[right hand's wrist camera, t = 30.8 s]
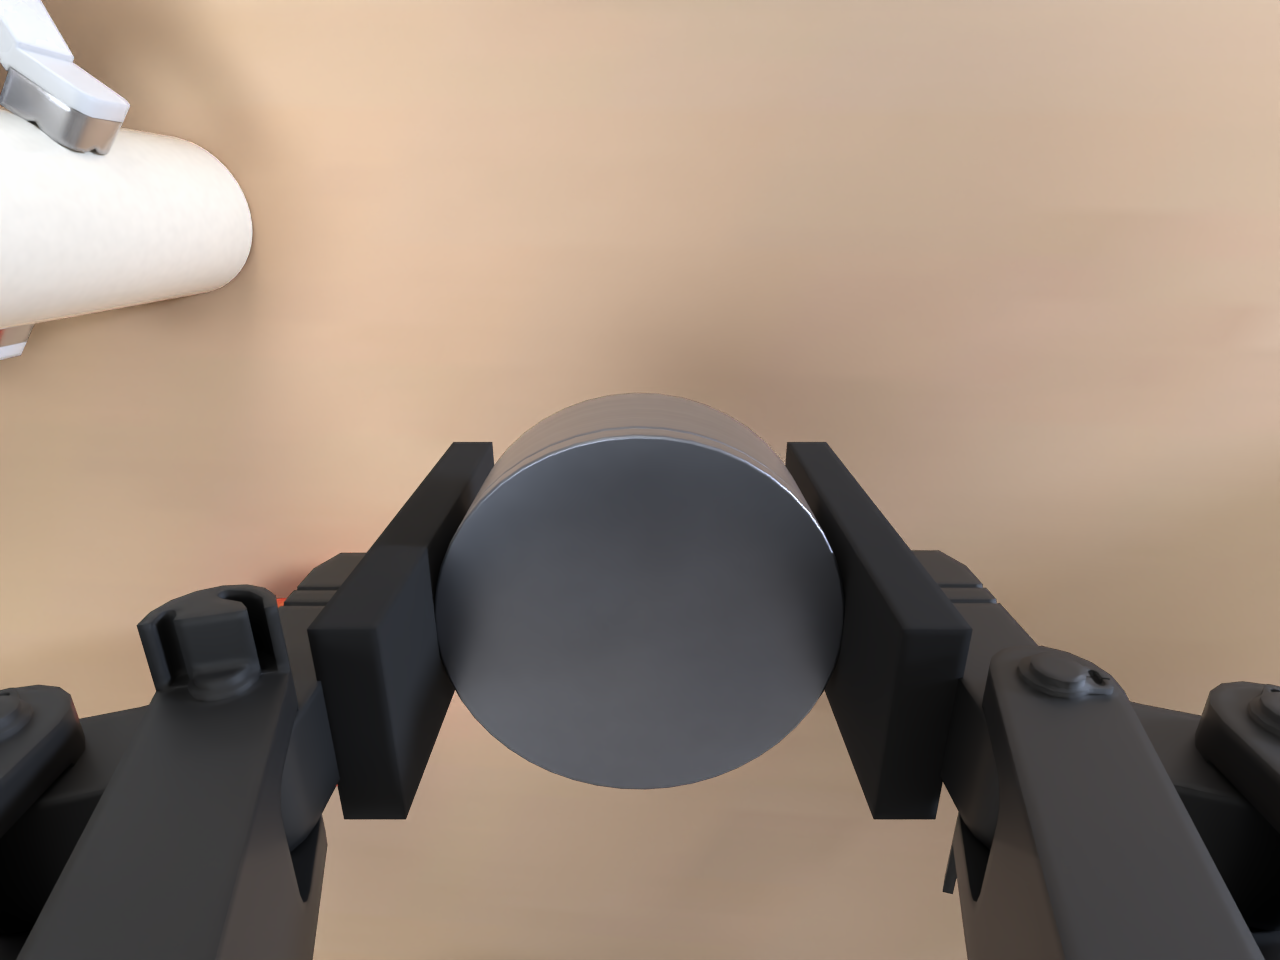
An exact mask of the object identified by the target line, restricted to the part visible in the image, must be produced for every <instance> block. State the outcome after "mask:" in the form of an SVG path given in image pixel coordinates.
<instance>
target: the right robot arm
mask: <svg viewBox="0 0 1280 960" xmlns="http://www.w3.org/2000/svg"><path fill="white" fill-rule="evenodd" d="M493 466H494V458H493V445H492V442H453V443H452V445H451V446H450V447H449V448H448V450H447V451H446V452H445V454H444V455H443V456H442V457H441V459H440V460H439V461H438V462H437V464H436V465H435V466H434V468H433V469H432V470H431V471H430V473H429V474H428V475H427V477H426V478H425V479H424V480H423V482H422V483H421V484H420V485H419V487H418V488H417V489H416V491H415V492H414V493H413V494H412V496H411V497H410V498H409V499H408V501H407V502H406V503H405V505H404V506H403V507H402V508H401V510H400V511H399V512H398V514H397V515H396V516H395V517H394V519H393V520H392V521H391V522H390V524H389V525H388V526H387V528H386V529H385V530H384V531H383V533H382V534H381V535H380V537H379V538H378V539H377V540H376V542H375V543H374V544H373V545H372V547H371V548H370V549H369V551H368V552H367V553H340V554H338V555H336V556H335V557H333V558H331V559H329V560H328V561H326V562H324V563H322V564H321V565H319V566H317V567H315V568H314V569H313V570H312V571H311V572H310V573H309V574H308V575H307V577H306V578H305V579H304V580H303V581H302V582H301V583H300V584H299V586H298V587H297V590H294V591H293V592H292V593H291V594H290V596H289V597H288V598H287V599H286V600H285V601H284V605H283V606H280V607H279V608H278V605H277V600H276V595H274V594H273V593H272V592H270V591H269V590H267V589H266V588H263V587H257V586H252V585H226V586H219V587H214V588H209V589H204V590H199V591H196V592H193V593H190V594H187V595H184V596H182V597H179V598H176V599H173V600H171V601H169V602H167V603H166V604H164V605H162V606H160V607H158V608H157V609H155V610H153V611H151V612H150V613H149V614H148V615H147V616H146V617H145V618H144V619H143V620H142V621H141V622H140V623H139V624H138V625H137V628H138V631H139V635H140V638H141V641H142V645H143V648H144V651H145V655H146V658H147V662H148V665H149V668H150V672H151V675H152V678H153V682H154V685H155V688H156V693H155V695H154V697H153V699H152V701H151V702H150V704H149V705H147V706H143V707H139V708H133V709H128V710H123V711H118V712H113V713H108V714H102V715H97V716H92V717H87V718H82V719H79V718H78V715H77V712H76V709H75V706H74V704H73V701H72V698H71V695H70V694H69V693H67V692H66V691H64V690H63V689H61V688H60V687H54V686H45V685H33V686H26V687H19V688H8V689H4V690H0V960H313V952H314V944H315V937H316V929H317V921H318V913H319V906H320V898H321V890H322V883H323V875H324V867H325V859H326V852H327V839H326V832H325V827H324V822H323V817H322V812H323V810H324V808H325V806H326V805H327V803H328V801H329V799H330V797H331V795H332V793H333V791H334V789H335V787H336V785H338V790H339V795H340V800H341V805H342V811H343V816H344V819H406V817H407V815H408V812H409V810H410V807H411V804H412V802H413V799H414V796H415V794H416V791H417V789H418V786H419V783H420V781H421V778H422V775H423V773H424V770H425V767H426V765H427V762H428V760H429V757H430V754H431V752H432V749H433V746H434V744H435V741H436V739H437V736H438V733H439V731H440V728H441V725H442V723H443V720H444V718H445V715H446V712H447V710H448V707H449V704H450V702H451V699H452V696H453V694H454V691H455V688H454V686H453V685H452V683H451V681H450V679H449V677H448V674H447V672H446V669H445V666H444V664H443V661H442V659H441V655H440V651H439V646H438V638H437V630H436V621H435V612H434V605H435V591H436V585H437V581H438V576H439V572H440V568H441V564H442V562H443V559H444V557H445V554H446V552H447V549H448V547H449V544H450V542H451V540H452V538H453V536H454V535H455V533H456V531H457V529H458V528H459V526H460V524H461V522H462V520H463V519H464V517H465V515H466V513H467V512H468V510H469V508H470V506H471V504H472V503H473V501H474V499H475V497H476V496H477V494H478V492H479V490H480V488H481V487H482V485H483V483H484V481H485V480H486V478H487V476H488V475H489V473H490V471H491V470H492V468H493ZM785 466H786V468H787V469H788V471H789V472H790V474H791V475H792V477H793V479H794V480H795V482H796V484H797V486H798V488H799V489H800V491H801V493H802V495H803V496H804V498H805V500H806V502H807V504H808V505H809V507H810V509H811V511H812V513H813V514H814V516H815V518H816V520H817V521H818V523H819V525H820V527H821V529H822V530H823V532H824V534H825V536H826V538H827V540H828V542H829V545H830V547H831V549H832V551H833V553H834V555H835V558H836V561H837V565H838V568H839V571H840V575H841V578H842V585H843V592H844V599H845V615H844V626H843V634H842V642H841V649H840V652H839V655H838V658H837V661H836V664H835V668H834V671H833V673H832V675H831V677H830V679H829V681H828V683H827V685H826V687H825V689H824V690H825V692H826V695H827V698H828V700H829V703H830V706H831V708H832V711H833V713H834V716H835V719H836V721H837V724H838V727H839V729H840V732H841V734H842V737H843V740H844V742H845V745H846V748H847V750H848V753H849V756H850V758H851V761H852V763H853V766H854V769H855V771H856V774H857V777H858V779H859V782H860V784H861V787H862V790H863V792H864V795H865V798H866V800H867V803H868V806H869V808H870V811H871V813H872V816H873V819H935V818H936V813H937V808H938V803H939V798H940V793H941V788H942V783H944V785H945V786H946V788H947V790H948V792H949V794H950V796H951V798H952V800H953V802H954V804H955V805H956V807H957V809H958V811H959V812H958V817H957V822H956V827H955V831H954V836H953V841H952V846H951V850H950V855H949V860H948V864H947V869H946V874H945V880H944V886H943V892H946V893H950V894H953V890H954V886H955V881H956V879H957V881H958V889H959V896H960V904H961V912H962V919H963V927H964V935H965V942H966V950H967V958H968V960H1280V687H1279V686H1275V685H1270V684H1258V683H1250V682H1243V681H1241V682H1232V683H1222V684H1220V685H1219V686H1217V687H1216V688H1214V689H1213V690H1211V691H1210V693H1209V696H1208V699H1207V702H1206V705H1205V707H1204V710H1203V713H1202V716H1200V715H1195V714H1189V713H1184V712H1179V711H1174V710H1169V709H1164V708H1158V707H1153V706H1148V705H1143V704H1138V703H1134V702H1130V701H1129V699H1128V697H1127V695H1126V693H1125V692H1124V690H1123V689H1122V688H1121V686H1120V685H1119V684H1118V683H1117V682H1116V680H1115V679H1114V678H1113V677H1112V676H1111V675H1110V674H1108V673H1107V672H1105V671H1104V670H1102V669H1101V668H1099V667H1098V666H1096V665H1095V664H1093V663H1092V662H1090V661H1087V660H1085V659H1082V658H1080V657H1078V656H1075V655H1073V654H1071V653H1068V652H1065V651H1061V650H1056V649H1052V648H1048V647H1044V646H1038V645H1037V644H1036V643H1035V642H1034V641H1033V639H1032V638H1031V637H1030V636H1029V635H1028V634H1027V633H1026V632H1025V631H1024V630H1023V628H1022V627H1021V626H1020V625H1019V624H1018V623H1017V622H1016V621H1015V620H1014V618H1013V617H1012V616H1011V615H1010V614H1009V613H1008V612H1007V611H1006V610H1005V608H1004V607H1003V606H1002V605H1001V604H1000V603H996V598H995V597H994V596H993V595H992V594H991V593H990V592H989V591H988V590H987V589H986V588H983V584H982V583H981V582H980V581H979V580H978V579H977V577H976V576H975V575H974V574H973V573H972V572H971V571H970V570H969V569H968V567H967V566H965V565H964V564H962V563H960V562H958V561H957V560H955V559H953V558H951V557H950V556H948V555H946V554H944V553H943V552H941V551H939V550H910V549H909V547H908V546H907V545H906V544H905V542H904V541H903V540H902V538H901V537H900V536H899V535H898V533H897V532H896V531H895V529H894V528H893V527H892V526H891V524H890V523H889V522H888V521H887V519H886V518H885V517H884V515H883V514H882V513H881V512H880V510H879V509H878V508H877V506H876V505H875V504H874V503H873V501H872V500H871V499H870V498H869V496H868V495H867V494H866V492H865V491H864V490H863V489H862V487H861V486H860V485H859V484H858V482H857V481H856V480H855V478H854V477H853V476H852V475H851V473H850V472H849V471H848V469H847V468H846V467H845V466H844V464H843V463H842V462H841V461H840V459H839V458H838V457H837V455H836V454H835V453H834V452H833V450H832V449H831V448H830V446H829V445H828V444H827V443H826V442H787V452H786V465H785Z"/></svg>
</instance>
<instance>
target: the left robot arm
mask: <svg viewBox="0 0 1280 960" xmlns="http://www.w3.org/2000/svg"><path fill="white" fill-rule="evenodd" d="M73 60H74V56H73V54H72V53H71V51H70V49H69V48H68V46H67V44H66V42H65V41H64V39H63V37H62V36H61V34H60V32H59V30H58V29H57V27H56V25H55V24H54V22H53V20H52V18H51V17H50V15H49V13H48V12H47V10H46V8H45V6H44V5H43V3H42V1H41V0H0V63H1V64H2V66H3V67H4V68H5V70H6V71H8V74H7V77H6V80H5V83H4V86H3V89H2V92H1V95H0V105H2V106H3V107H5V108H6V109H8V110H9V111H11V112H12V113H13V114H15V115H16V116H19V117H20V118H22V119H24V120H26V121H30V122H36V123H37V125H38V126H39V128H40V130H41V131H42V132H43V133H45V134H46V135H47V136H49V137H50V138H51V139H52V140H54V141H56V142H58V143H60V144H61V145H63V146H66V147H68V148H71V149H73V150H76V151H82V152H89V151H91V150H95V151H96V152H98V153H99V154H108V153H109V152H110V149H111V147H112V145H113V143H114V141H115V139H116V137H117V134H118V132H119V130H120V128H121V126H122V124H123V121H124V119H125V117H126V114H127V112H128V110H129V107H130V104H129V103H128V102H127V100H126V99H124V98H123V97H122V96H120V95H119V94H117V93H116V92H114V91H113V90H112V89H110V88H109V87H107V86H106V85H104V84H103V83H102V82H100V81H99V80H97V79H96V78H95V77H93V76H92V75H90V74H89V73H87V72H86V71H85V70H83V69H82V68H80V67H79V66H77V65H76V64H75V63H73ZM33 326H34V324H30V325H25V326H19V327H13V328H8V329H2V330H0V360H2V359H7V358H11V357H15V356H20V355H21V354H22V351H23V349H24V347H25V345H26V342H27V340H28V338H29V335H30V333H31V331H32V328H33Z"/></svg>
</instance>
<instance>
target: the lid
mask: <svg viewBox="0 0 1280 960" xmlns="http://www.w3.org/2000/svg"><path fill="white" fill-rule="evenodd" d="M434 612H435V621H436V630H437V638H438V646H439V651H440V655H441V659H442V661H443V664H444V666H445V669H446V672H447V674H448V677H449V679H450V681H451V683H452V685H453V686H454V688H455V690H456V692H457V694H458V695H459V697H460V699H461V700H462V702H463V703H464V704H465V706H466V707H467V708H468V710H469V711H470V712H471V714H472V715H473V716H474V718H475V719H476V720H477V721H478V722H479V723H480V724H481V725H482V726H483V727H484V728H485V729H486V730H487V731H488V732H489V733H490V734H491V735H492V736H494V737H495V738H496V739H497V740H499V741H500V742H501V743H502V744H503V745H505V746H506V747H507V748H508V749H510V750H512V751H513V752H515V753H516V754H518V755H519V756H521V757H523V758H524V759H526V760H527V761H529V762H531V763H533V764H535V765H537V766H539V767H542V768H544V769H546V770H548V771H550V772H552V773H555V774H558V775H561V776H564V777H567V778H570V779H572V780H576V781H580V782H585V783H589V784H593V785H597V786H605V787H613V788H620V789H655V788H669V787H675V786H680V785H686V784H692V783H696V782H699V781H703V780H706V779H710V778H713V777H716V776H719V775H721V774H724V773H726V772H729V771H731V770H734V769H736V768H738V767H740V766H742V765H744V764H746V763H748V762H750V761H751V760H753V759H755V758H757V757H759V756H760V755H762V754H763V753H765V752H766V751H767V750H769V749H770V748H772V747H773V746H775V745H776V744H777V743H779V742H780V741H781V740H782V739H783V738H784V737H785V736H787V735H788V734H789V733H790V732H791V731H792V730H793V729H794V728H796V726H797V725H798V724H799V723H800V722H801V721H802V720H803V718H804V717H805V716H806V715H807V714H808V713H809V712H810V710H811V709H812V708H813V706H814V705H815V703H816V702H817V700H818V699H819V697H820V696H821V694H822V693H823V691H824V689H825V687H826V685H827V683H828V681H829V679H830V677H831V675H832V673H833V671H834V668H835V664H836V661H837V658H838V655H839V652H840V649H841V642H842V634H843V626H844V615H845V599H844V592H843V585H842V578H841V575H840V571H839V568H838V565H837V561H836V558H835V555H834V553H833V551H832V549H831V547H830V545H829V542H828V540H827V538H826V536H825V534H824V532H823V530H822V529H821V527H820V525H819V523H818V521H817V520H816V518H815V516H814V514H813V513H812V511H811V509H810V507H809V505H808V504H807V502H806V500H805V498H804V496H803V495H802V493H801V491H800V489H799V488H798V486H797V484H796V482H795V480H794V479H793V477H792V475H791V474H790V472H789V471H788V469H787V468H786V466H785V465H784V463H783V462H782V460H781V459H780V458H779V457H778V455H777V454H776V453H775V452H774V451H773V450H772V449H771V448H770V447H769V446H768V444H767V443H766V442H765V441H764V440H762V439H761V438H760V437H759V436H758V435H756V434H755V433H754V432H753V431H752V430H750V429H749V428H748V427H747V426H745V425H744V424H742V423H740V422H739V421H737V420H736V419H734V418H732V417H731V416H729V415H727V414H725V413H723V412H721V411H719V410H716V409H714V408H712V407H710V406H708V405H705V404H702V403H698V402H695V401H692V400H689V399H685V398H681V397H675V396H669V395H663V394H651V393H628V394H617V395H608V396H604V397H599V398H595V399H590V400H586V401H583V402H581V403H578V404H575V405H572V406H570V407H567V408H564V409H562V410H560V411H558V412H556V413H555V414H553V415H551V416H549V417H547V418H545V419H543V420H542V421H540V422H539V423H537V424H536V425H535V426H533V427H532V428H530V429H529V430H528V431H526V432H525V433H524V434H522V435H521V436H520V437H519V438H518V439H517V440H516V441H515V442H514V443H513V444H512V445H511V446H510V447H509V448H508V449H507V450H506V451H505V452H504V454H503V455H502V456H501V457H500V459H499V460H498V461H497V462H496V464H495V465H494V466H493V468H492V470H491V471H490V473H489V475H488V476H487V478H486V480H485V481H484V483H483V485H482V487H481V488H480V490H479V492H478V494H477V496H476V497H475V499H474V501H473V503H472V504H471V506H470V508H469V510H468V512H467V513H466V515H465V517H464V519H463V520H462V522H461V524H460V526H459V528H458V529H457V531H456V533H455V535H454V536H453V538H452V540H451V542H450V544H449V547H448V549H447V552H446V554H445V557H444V559H443V562H442V564H441V568H440V572H439V576H438V581H437V585H436V591H435V605H434Z"/></svg>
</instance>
